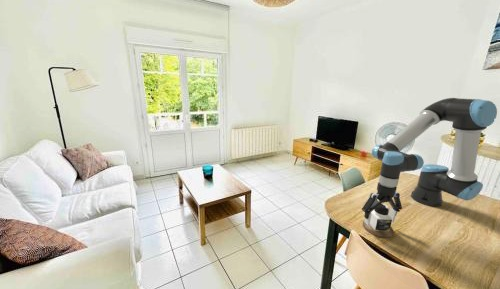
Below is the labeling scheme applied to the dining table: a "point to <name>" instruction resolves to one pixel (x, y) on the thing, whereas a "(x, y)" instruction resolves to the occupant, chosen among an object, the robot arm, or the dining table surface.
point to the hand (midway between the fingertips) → (378, 222)
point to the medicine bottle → (381, 218)
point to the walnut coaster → (378, 233)
